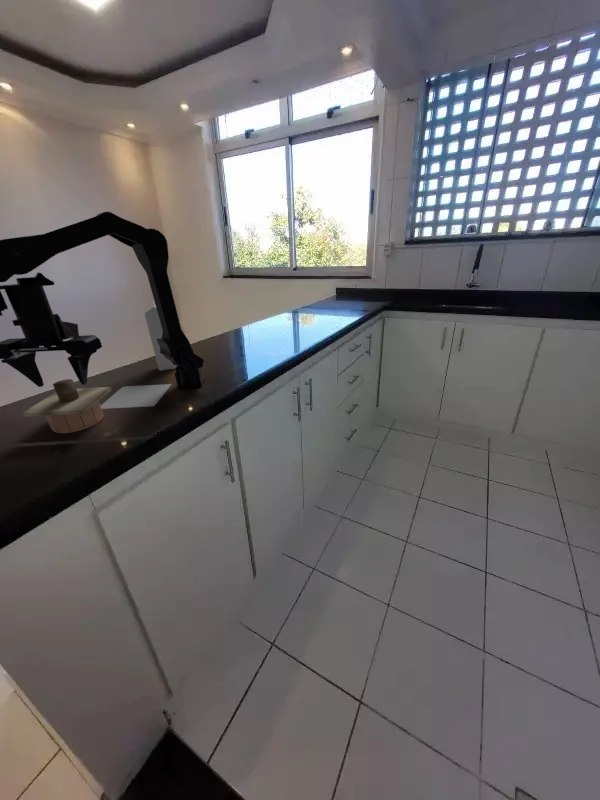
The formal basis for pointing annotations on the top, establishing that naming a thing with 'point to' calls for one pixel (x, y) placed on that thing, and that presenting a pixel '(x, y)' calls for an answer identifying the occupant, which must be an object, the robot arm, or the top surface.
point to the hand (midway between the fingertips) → (63, 385)
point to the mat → (136, 396)
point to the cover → (67, 400)
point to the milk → (157, 337)
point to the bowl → (75, 420)
